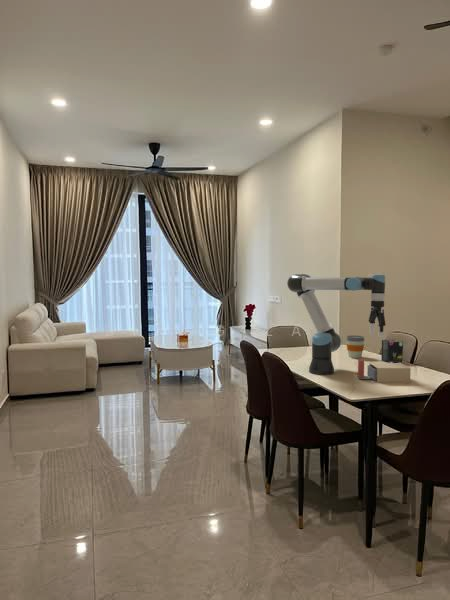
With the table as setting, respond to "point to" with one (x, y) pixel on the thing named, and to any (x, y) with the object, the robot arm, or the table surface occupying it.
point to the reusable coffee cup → (355, 346)
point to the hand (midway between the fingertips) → (376, 335)
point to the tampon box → (392, 351)
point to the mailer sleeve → (392, 372)
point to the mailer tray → (371, 371)
